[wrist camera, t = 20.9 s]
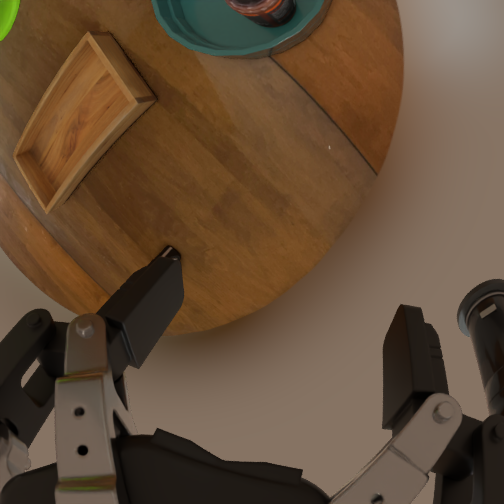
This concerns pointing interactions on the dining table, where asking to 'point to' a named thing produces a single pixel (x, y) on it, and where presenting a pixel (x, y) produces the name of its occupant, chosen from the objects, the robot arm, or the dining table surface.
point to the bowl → (235, 27)
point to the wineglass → (7, 15)
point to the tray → (80, 118)
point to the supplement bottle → (265, 11)
